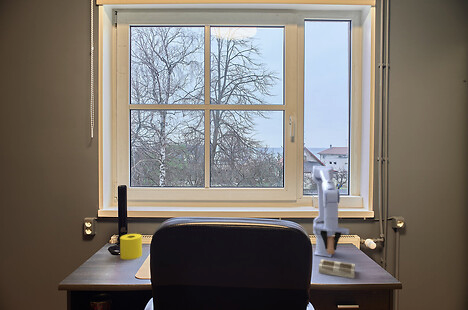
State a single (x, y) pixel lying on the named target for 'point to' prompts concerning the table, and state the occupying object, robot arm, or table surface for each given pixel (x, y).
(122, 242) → the tape roll
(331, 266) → the bore block
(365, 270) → the table surface
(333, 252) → the dowel
